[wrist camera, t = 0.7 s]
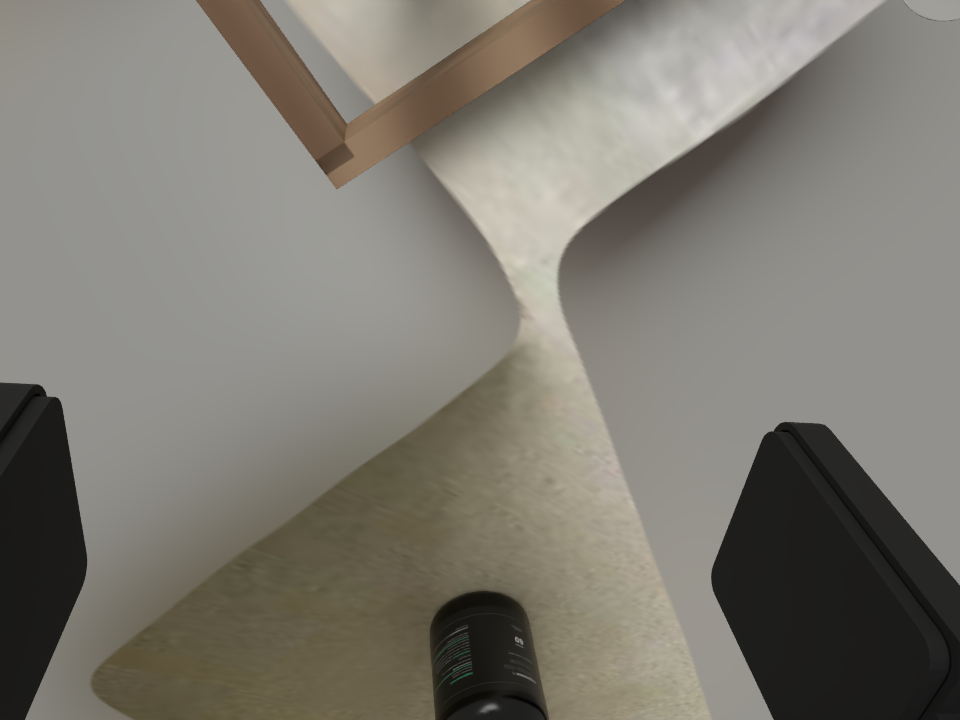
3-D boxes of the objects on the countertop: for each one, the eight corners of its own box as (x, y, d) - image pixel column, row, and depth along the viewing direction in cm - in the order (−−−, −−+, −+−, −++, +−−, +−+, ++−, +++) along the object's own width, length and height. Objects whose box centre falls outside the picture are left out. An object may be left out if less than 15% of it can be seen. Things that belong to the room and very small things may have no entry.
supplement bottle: (546, 622, 54) (585, 791, 44) (470, 669, 56) (491, 842, 46) (487, 572, 51) (514, 741, 41) (408, 623, 53) (415, 798, 43)
